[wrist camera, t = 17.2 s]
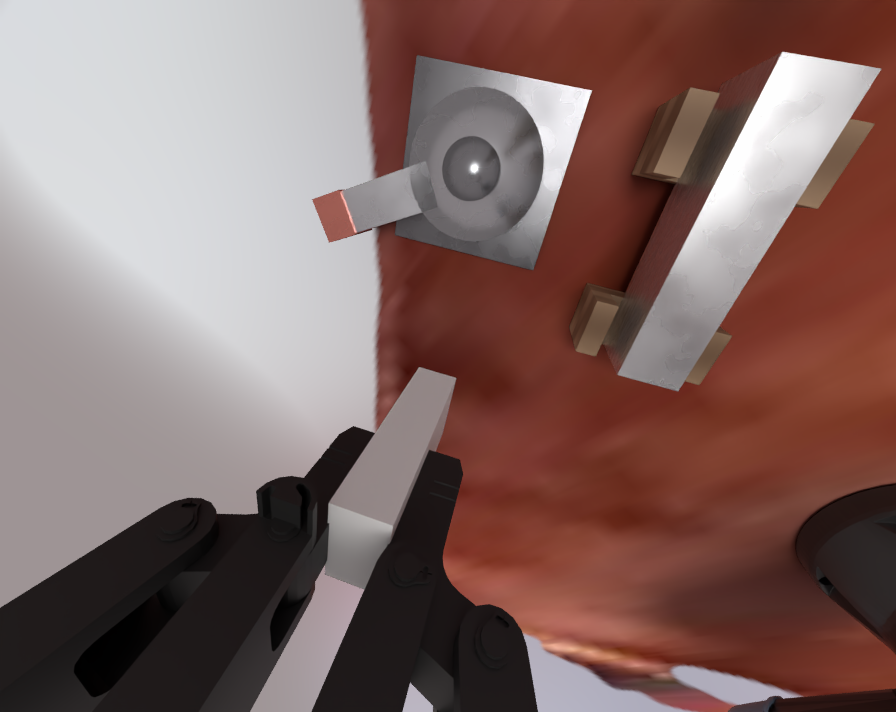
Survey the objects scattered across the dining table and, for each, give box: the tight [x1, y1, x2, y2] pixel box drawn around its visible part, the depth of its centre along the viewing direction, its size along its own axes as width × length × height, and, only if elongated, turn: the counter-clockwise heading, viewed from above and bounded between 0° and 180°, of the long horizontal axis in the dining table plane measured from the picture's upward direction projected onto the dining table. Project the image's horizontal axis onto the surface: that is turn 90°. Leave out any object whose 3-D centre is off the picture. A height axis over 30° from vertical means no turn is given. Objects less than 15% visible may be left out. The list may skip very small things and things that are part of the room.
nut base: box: [395, 55, 591, 270], centre depth 26 cm, size 12×12×1 cm
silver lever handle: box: [313, 87, 544, 242], centre depth 25 cm, size 17×9×5 cm, turn 105°
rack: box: [569, 88, 874, 385], centre depth 24 cm, size 16×9×5 cm, turn 168°
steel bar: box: [603, 52, 881, 391], centre depth 21 cm, size 17×4×6 cm, turn 168°
